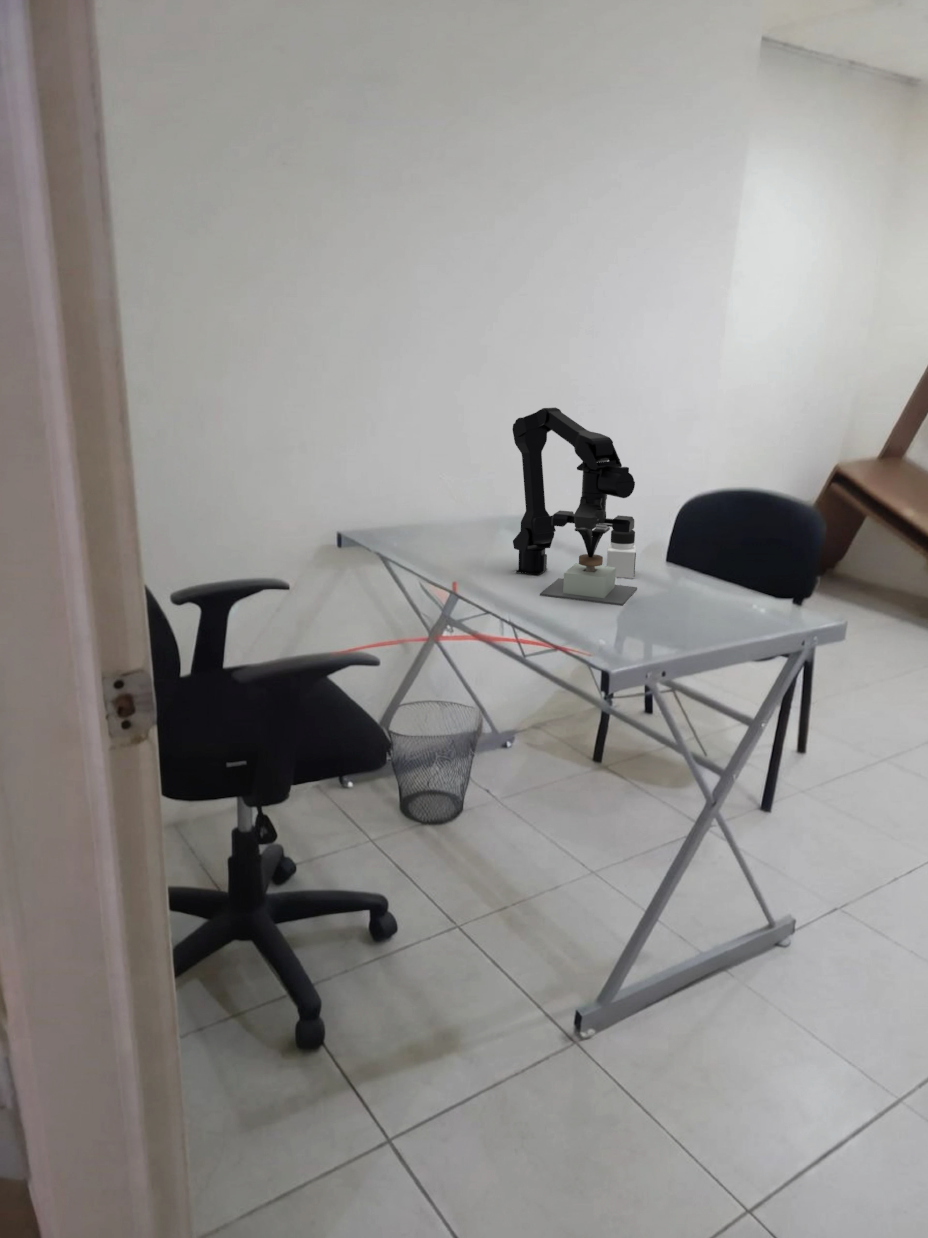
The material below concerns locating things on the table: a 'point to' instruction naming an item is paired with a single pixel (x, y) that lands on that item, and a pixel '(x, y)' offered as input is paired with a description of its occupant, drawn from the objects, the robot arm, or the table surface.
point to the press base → (590, 586)
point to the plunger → (590, 561)
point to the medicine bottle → (622, 553)
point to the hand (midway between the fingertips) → (590, 556)
